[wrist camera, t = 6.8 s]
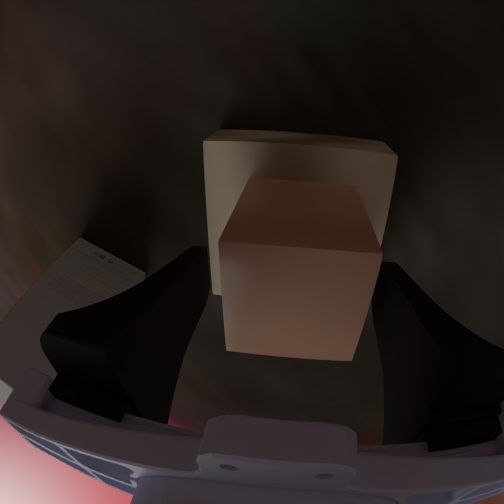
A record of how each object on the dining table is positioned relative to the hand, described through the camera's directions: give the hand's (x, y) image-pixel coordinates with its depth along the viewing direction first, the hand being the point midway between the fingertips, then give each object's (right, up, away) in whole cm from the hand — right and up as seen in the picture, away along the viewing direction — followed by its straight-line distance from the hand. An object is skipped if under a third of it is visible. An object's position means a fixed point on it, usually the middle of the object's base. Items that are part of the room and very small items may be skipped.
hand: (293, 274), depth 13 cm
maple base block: (+1, +4, +6) cm, 7 cm away
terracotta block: (+1, +2, +3) cm, 4 cm away
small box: (-14, -2, +12) cm, 18 cm away
